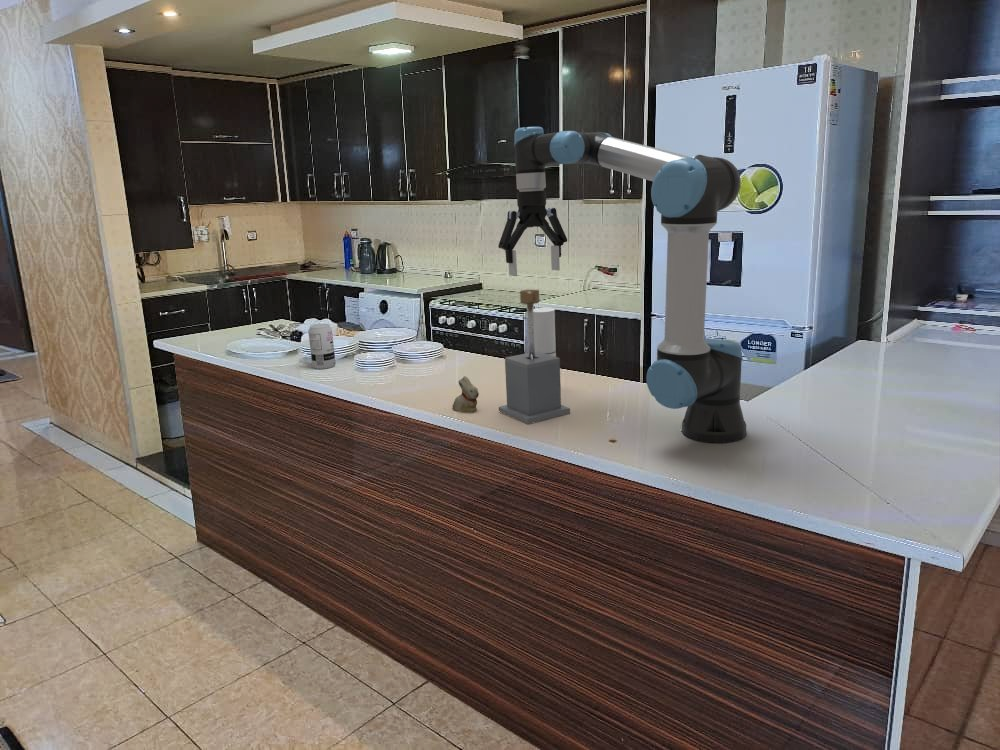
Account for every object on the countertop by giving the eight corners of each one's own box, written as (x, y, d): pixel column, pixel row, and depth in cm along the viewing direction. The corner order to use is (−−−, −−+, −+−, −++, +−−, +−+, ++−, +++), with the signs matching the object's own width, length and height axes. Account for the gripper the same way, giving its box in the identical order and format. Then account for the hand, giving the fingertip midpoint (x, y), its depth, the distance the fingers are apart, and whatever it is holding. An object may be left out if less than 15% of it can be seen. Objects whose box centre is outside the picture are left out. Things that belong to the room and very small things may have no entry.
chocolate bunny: (464, 415, 203) (462, 380, 200) (450, 408, 209) (447, 374, 207) (481, 411, 206) (479, 376, 203) (466, 404, 212) (464, 371, 210)
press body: (570, 413, 200) (568, 357, 196) (527, 424, 193) (525, 367, 189) (539, 402, 211) (537, 349, 207) (498, 411, 204) (496, 357, 200)
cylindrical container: (555, 395, 216) (552, 312, 210) (531, 395, 218) (528, 312, 211) (558, 389, 223) (556, 307, 217) (535, 388, 225) (532, 307, 218)
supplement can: (311, 365, 268) (307, 325, 264) (334, 363, 270) (330, 322, 266) (313, 370, 260) (308, 329, 257) (336, 367, 263) (332, 326, 259)
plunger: (553, 365, 197) (551, 290, 192) (528, 371, 193) (525, 294, 188) (535, 360, 204) (533, 287, 199) (511, 365, 200) (507, 291, 194)
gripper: (561, 188, 199) (564, 267, 204) (482, 193, 187) (487, 276, 192) (578, 187, 193) (580, 268, 198) (497, 192, 180) (502, 279, 186)
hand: (534, 272), depth 195 cm, fingers open, 13 cm apart
